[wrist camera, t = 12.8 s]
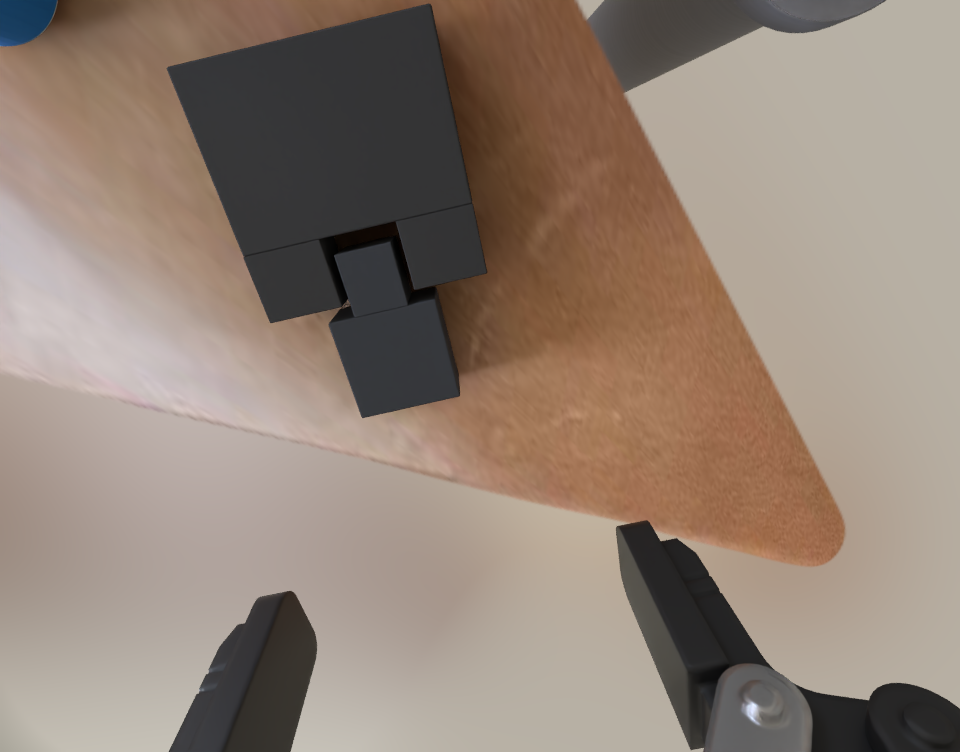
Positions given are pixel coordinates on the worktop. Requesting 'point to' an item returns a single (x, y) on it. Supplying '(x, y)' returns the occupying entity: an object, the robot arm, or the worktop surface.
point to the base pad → (334, 154)
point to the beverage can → (24, 20)
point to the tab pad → (391, 333)
